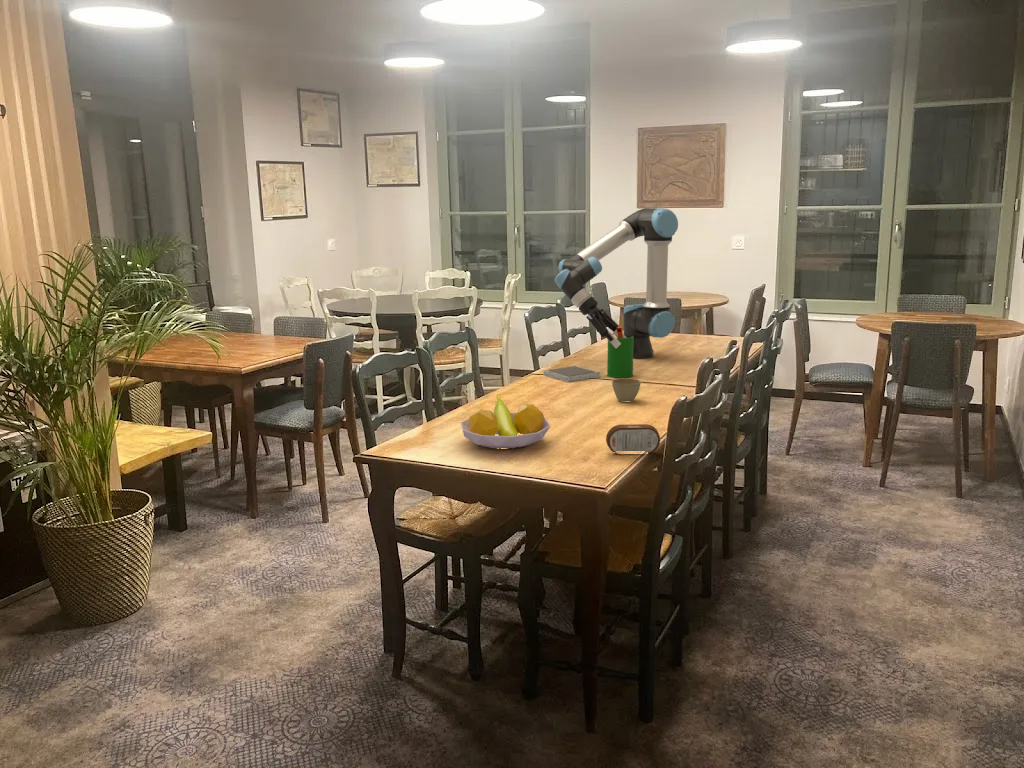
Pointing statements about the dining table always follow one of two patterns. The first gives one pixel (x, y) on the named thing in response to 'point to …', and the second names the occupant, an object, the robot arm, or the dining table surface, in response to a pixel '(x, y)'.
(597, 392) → the dining table surface
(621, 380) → the flower pot
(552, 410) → the dining table surface
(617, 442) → the tin
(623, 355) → the green cylindrical container
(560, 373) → the grey flat square slab
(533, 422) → the fruit bowl
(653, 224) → the robot arm
